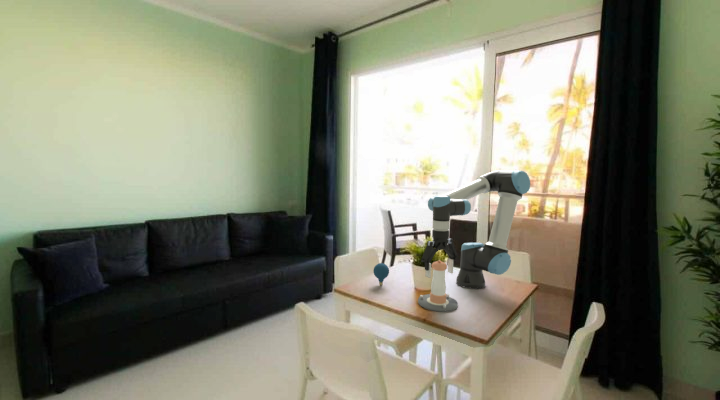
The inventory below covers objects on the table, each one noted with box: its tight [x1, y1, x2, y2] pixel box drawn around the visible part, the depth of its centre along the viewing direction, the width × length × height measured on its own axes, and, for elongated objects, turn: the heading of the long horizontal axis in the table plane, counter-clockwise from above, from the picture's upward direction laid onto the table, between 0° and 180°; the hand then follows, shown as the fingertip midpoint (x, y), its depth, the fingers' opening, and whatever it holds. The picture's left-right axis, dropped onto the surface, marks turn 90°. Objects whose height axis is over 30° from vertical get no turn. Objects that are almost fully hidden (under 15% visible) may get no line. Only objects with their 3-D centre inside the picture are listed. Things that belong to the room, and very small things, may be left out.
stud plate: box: [417, 293, 459, 313], centre depth 154 cm, size 18×18×3 cm
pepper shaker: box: [429, 259, 448, 304], centre depth 153 cm, size 7×7×19 cm
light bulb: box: [373, 262, 390, 286], centre depth 176 cm, size 8×8×12 cm
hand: (439, 274), depth 153 cm, fingers open, 13 cm apart
